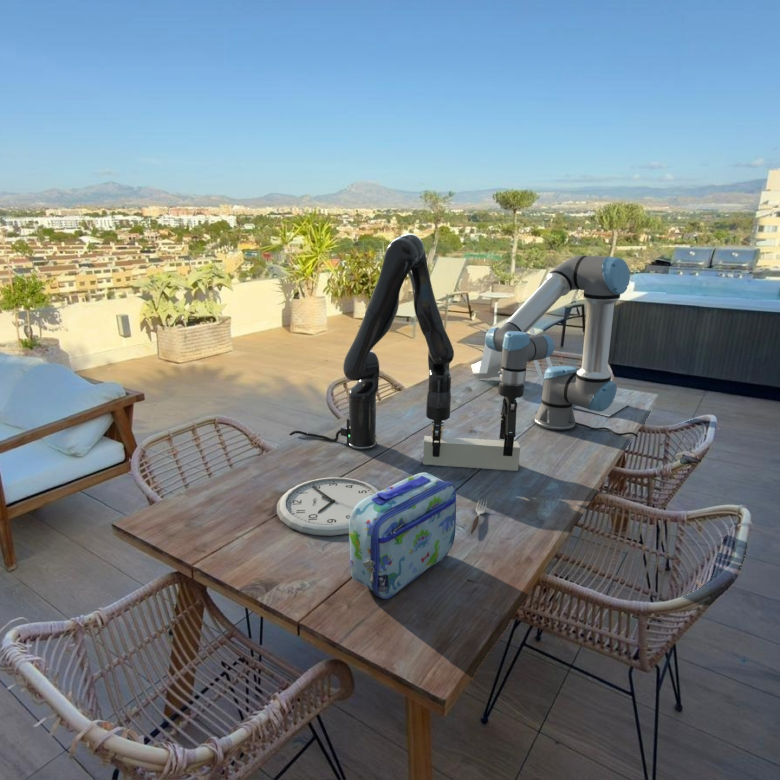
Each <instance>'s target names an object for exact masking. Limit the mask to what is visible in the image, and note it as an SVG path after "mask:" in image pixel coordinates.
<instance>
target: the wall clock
mask: <svg viewBox="0 0 780 780" xmlns="http://www.w3.org/2000/svg"><path fill="white" fill-rule="evenodd" d="M380 491H381V490H380V489H379V488H377V487H376V486H374V485H372V484H371V483H369V482H365V481H362V480H359V479H355V478H349V477H338V476H337V477H335V476H333V477H332V476H331V477H322V478H317V479H312V480H307V481H305V482H302V483H299V484H297V485H295V486H293V487H292V488H290V489H288V490H287V491H286V492H285V493H284V494H283V495H281V496H280V498H279V499H278V502H277V503H276V515H277V517H278V518H279V520H280V521H281V522H282V523H283V524H285V525H286V526H287V527H288V528H290V529H293V530H295V531H297V532H299V533H303V534H308V535H312V536H327V537H328V536H329V537H331V536H332V537H333V536H342V535H349V520H350V515H351V513H352V511H353V509H354V507H355V506H356V505H357V504H358V503H359V502H360V501H362V500H363V499H365V498H367V497H370V496H372V495H374V494H376V493H378V492H380Z"/></svg>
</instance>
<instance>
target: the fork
mask: <svg viewBox="0 0 780 780" xmlns="http://www.w3.org/2000/svg"><path fill="white" fill-rule="evenodd" d="M482 502H483V503H482ZM487 503H488V500H486V501H485V499H484V500H483V499H481V500H480V498H478V501H477V503H476V504H477V505H476V507H475V513H477V515H476V517H475V518H474V520H473V521H472V527H471V530H470V535H473V532H474V531H475V529H476V528H477V526H478V523H479V519H480V516H481V515H483V514H485V513H486V511H487V505H488V504H487Z"/></svg>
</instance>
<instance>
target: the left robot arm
mask: <svg viewBox="0 0 780 780" xmlns="http://www.w3.org/2000/svg"><path fill="white" fill-rule="evenodd" d="M379 273H380V274H379V276H378V279H377V282H376V284H375V286H374V288H373V291H372V294H371V295H370V299H369V301H368V304H367V306H366V308H365V312H364V314H363V316H362V317H363V318H362V319H361V322H360V325H359V328H358V330H357V333H356V335H355V337H354V340H353V341H352V343H351V345H350V347H349V349H348V352H347V353H346V355H345V357H344V360H343V366H342V369H343V373H344V376H345V378H346V379H347V380H349V381H353V382H356V383H355V384H354V385H353V386H352V387H351V388H350V389H349V390H348V418H346V425H343V426H341V427H340V429H339V430H337V431H336V433H335V438H330V437H328V436H325V435H323V434H316V433H311V432H305V431H301V430H293V431H291V432H290V433H289V434H288V436H293V435H295V434H299V435H302V436H308V437H314V438H319V439H323V440H325V441H328V442H336V441H338V440H339V436H342V437H345V438H346V445H347V446H349V447H350V448H351V449H355V450H359V451H362V450H370V449H373V448H375V447H376V445H377V441H376V439H377V394H378V391H379V383H380V382H379V381H380V361H379V357H378V355H377V354H376V353H375V351H372V350H373V348H374V347H375V346H376V345H377V344H378V343H379V342H380V341H381V340H382V339H383V338H384V337H385V336H386V335H387V334H388V333H389V331H390V329H391V328H392V326H393V324H394V321H395V319H396V317H397V314H398V311H399V305H400V293H401V290H402V286H403V284H404V282H405V280H406V279H407V276H408V277H409V280H410V284H411V289H412V298H413V299H412V303H413V309H414V314H415V317H416V320H417V323H418V326H419V328H420V329H419V330H420V331H421V334H422V335H423V337H424V339H425V341H426V344H427V348H428V349H427V364H428V381H427V393H426V406H425V407H426V409H425V410H426V411H425V416H426V418H427V419H428V420H431V424H430V429H431V435H430V436H431V437H432V438H433V443H432V446H433V457H439V455H440V446H441V444H440V441H441V439H442V437H443V432H444V431H443V430H444V429H445V428H444V427H445V422H444V421H447V420H449V419H450V417H451V403H452V393H451V389H452V375H451V371H450V364H451V363H452V361H453V360H454V357H455V349H454V347H453V345H452V342H451V339H450V338H449V335H448V333H447V331H446V329H445V324H444V321H443V317H442V315H441V312H440V309H439V307H438V303H437V300H436V297H435V293H434V289H433V286H432V282H431V276H430V272H429V266H428V260H427V255H426V249H425V245H424V242H423V241H422V239H421V238H420V237H419V236H417V235H415V234H413V233H407V234H403V235H401V236H399V237H397V238H395V239H393V240H392V241H391V242H390V243H389V244H388V246H387V247H386V250H385V252H384V257H383V261H382V265H381V268H380V272H379ZM307 433H308V434H307ZM434 441H439V442H434Z"/></svg>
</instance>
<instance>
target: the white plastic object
mask: <svg viewBox="0 0 780 780" xmlns="http://www.w3.org/2000/svg"><path fill="white" fill-rule="evenodd" d="M529 334H530V335H536V333H535V329H534V326H533V327H532V328H531V329H530V330H529ZM481 356H482V357H481V360H480V361H477V362H475V363H472V364H471V365H470V367H471V370H472V375H473V376H474V377H475V379H476V380H482V379H490V378H492V379H493V378H500V375H501V374H498V372H499V371H501V364H502V352H497V351H495V350H492V349H490V348H488V347H487V345H486V342H485V341H484V345H483V351H482V355H481ZM550 357H551V356H549V357H547V358H545V361H546V364H547V368H550V367H554V365H553V362H552V361H551V358H550ZM533 364H534V367H535V370H536V373H537V376H538V379H539V382H540V385H541V386H542V388H543V382H544V379H543V378H544V375H543V374H544V373H543V371H542V369H541V365H540V363H539V360H534V361H533Z"/></svg>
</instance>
